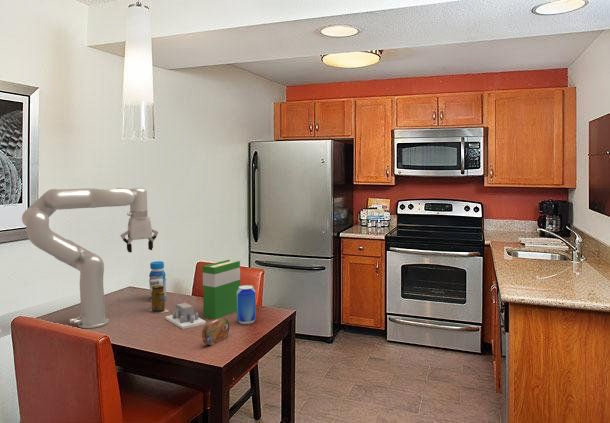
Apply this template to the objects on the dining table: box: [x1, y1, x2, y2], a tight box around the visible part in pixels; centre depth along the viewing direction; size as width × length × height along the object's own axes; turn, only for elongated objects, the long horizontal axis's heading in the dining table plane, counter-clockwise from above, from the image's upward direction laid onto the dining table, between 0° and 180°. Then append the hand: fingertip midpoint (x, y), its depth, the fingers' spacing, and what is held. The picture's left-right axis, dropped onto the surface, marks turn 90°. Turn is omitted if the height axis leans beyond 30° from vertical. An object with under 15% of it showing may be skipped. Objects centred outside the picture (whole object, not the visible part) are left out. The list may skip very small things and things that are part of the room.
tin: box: [201, 317, 230, 346], centre depth 187 cm, size 15×3×8 cm, turn 153°
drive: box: [175, 302, 195, 322], centre depth 211 cm, size 4×10×6 cm, turn 39°
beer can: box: [236, 284, 257, 325], centre depth 210 cm, size 8×8×16 cm
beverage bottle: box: [148, 260, 167, 302], centre depth 244 cm, size 8×8×20 cm
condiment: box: [148, 285, 170, 314], centre depth 226 cm, size 7×8×12 cm
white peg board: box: [165, 310, 207, 330], centre depth 211 cm, size 11×18×4 cm, turn 39°
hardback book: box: [202, 259, 241, 320], centre depth 222 cm, size 18×7×24 cm, turn 147°
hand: (140, 250), depth 219 cm, fingers open, 9 cm apart
